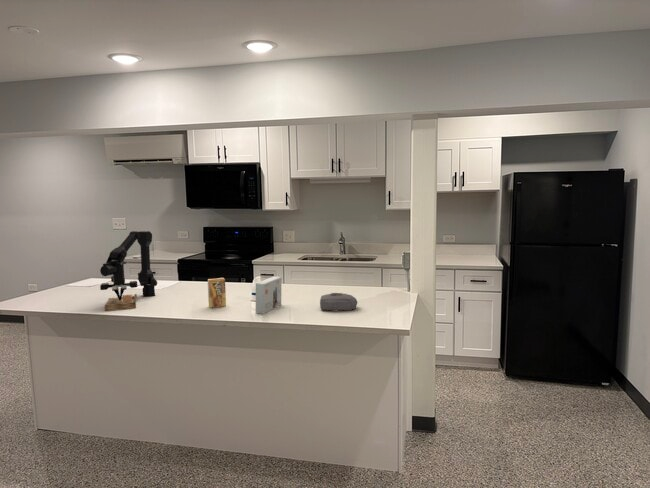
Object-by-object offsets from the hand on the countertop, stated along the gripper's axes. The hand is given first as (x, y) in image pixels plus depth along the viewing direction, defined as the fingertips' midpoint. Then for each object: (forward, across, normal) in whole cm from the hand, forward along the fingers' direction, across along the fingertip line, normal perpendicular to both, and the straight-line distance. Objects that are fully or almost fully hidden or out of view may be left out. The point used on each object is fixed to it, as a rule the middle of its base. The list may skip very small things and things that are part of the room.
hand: (120, 300), depth 253 cm
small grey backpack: (+3, -109, +57) cm, 123 cm away
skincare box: (+3, -75, +42) cm, 86 cm away
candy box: (+3, -50, +25) cm, 56 cm away
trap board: (+3, -1, -1) cm, 3 cm away
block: (+1, -4, 0) cm, 4 cm away
